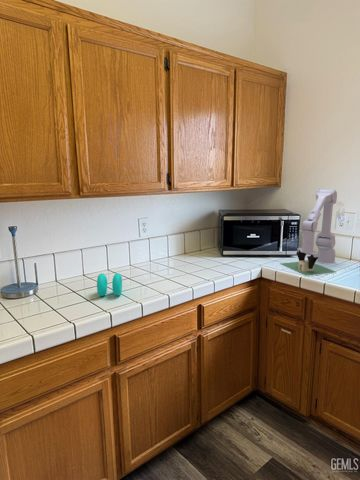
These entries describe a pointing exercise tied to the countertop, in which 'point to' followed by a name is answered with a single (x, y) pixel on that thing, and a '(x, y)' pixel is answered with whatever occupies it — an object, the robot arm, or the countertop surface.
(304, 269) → the beige u-shaped channel block
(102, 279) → the donuts
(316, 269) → the header board
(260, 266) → the countertop surface
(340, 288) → the countertop surface
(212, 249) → the countertop surface
